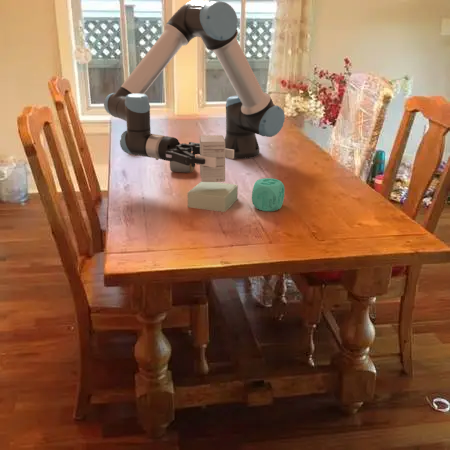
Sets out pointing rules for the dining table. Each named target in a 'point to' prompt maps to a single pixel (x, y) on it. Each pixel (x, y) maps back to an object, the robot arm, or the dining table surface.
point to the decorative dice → (268, 194)
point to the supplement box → (215, 149)
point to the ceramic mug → (180, 167)
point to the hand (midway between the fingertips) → (224, 158)
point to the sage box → (212, 196)
